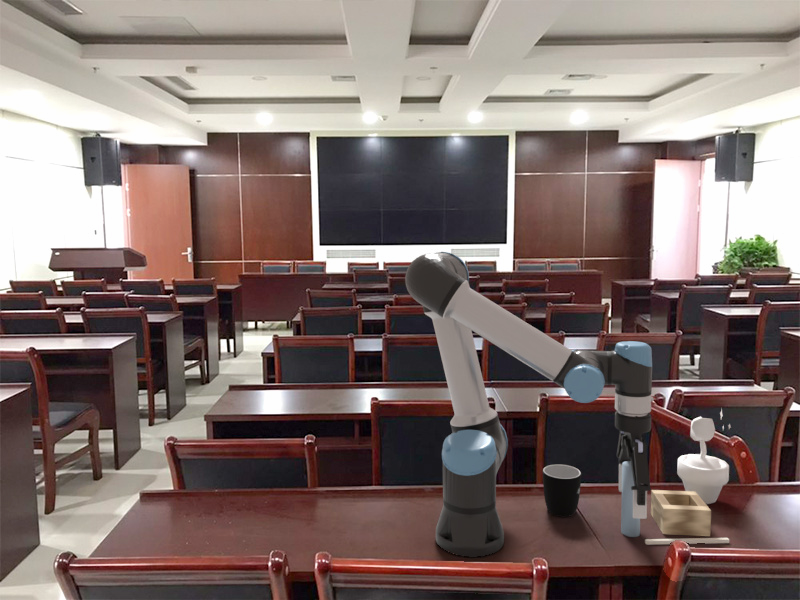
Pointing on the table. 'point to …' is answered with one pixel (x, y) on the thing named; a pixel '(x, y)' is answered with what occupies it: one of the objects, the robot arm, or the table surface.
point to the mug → (561, 489)
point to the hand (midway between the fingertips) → (631, 504)
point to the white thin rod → (687, 540)
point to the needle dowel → (628, 503)
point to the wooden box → (680, 513)
